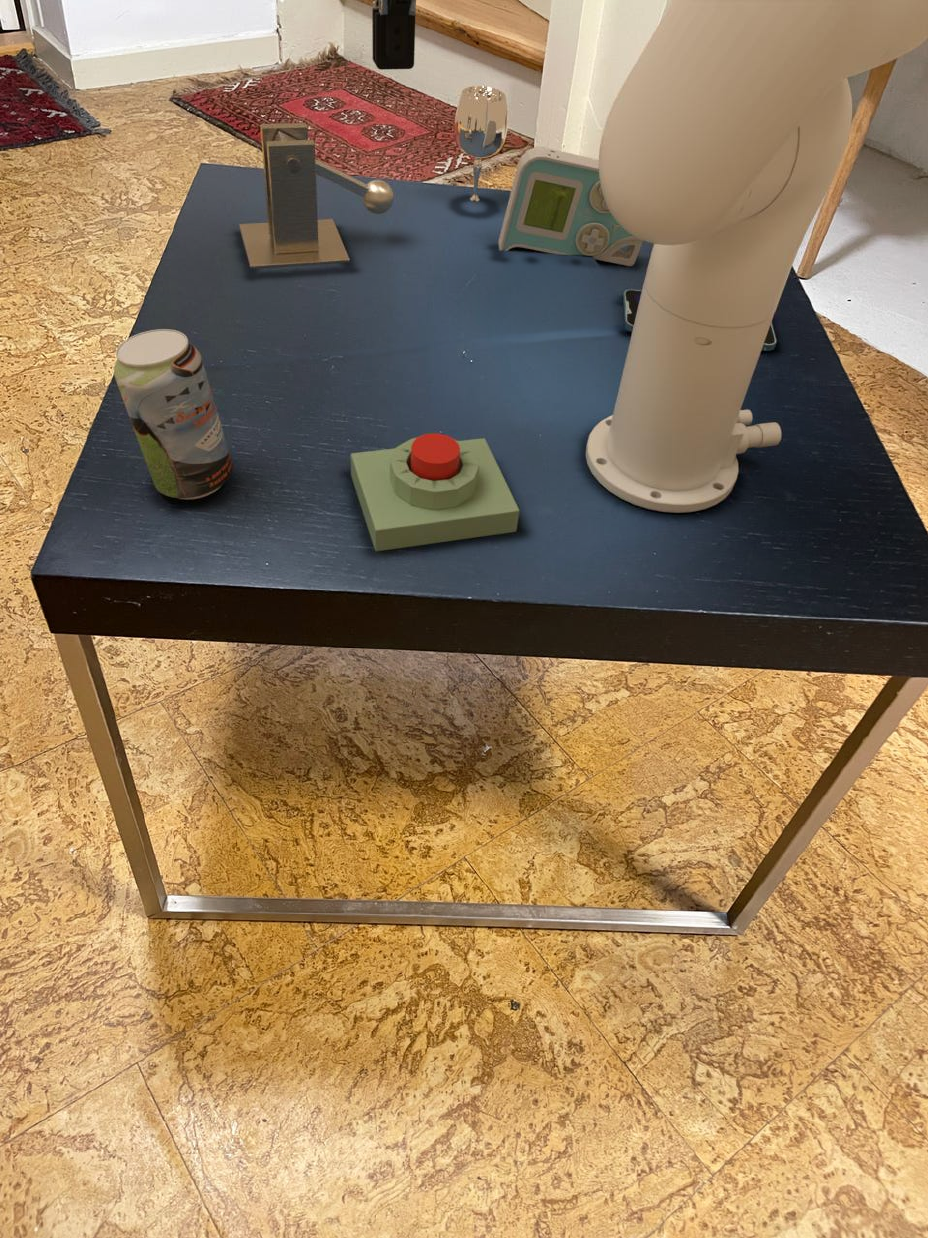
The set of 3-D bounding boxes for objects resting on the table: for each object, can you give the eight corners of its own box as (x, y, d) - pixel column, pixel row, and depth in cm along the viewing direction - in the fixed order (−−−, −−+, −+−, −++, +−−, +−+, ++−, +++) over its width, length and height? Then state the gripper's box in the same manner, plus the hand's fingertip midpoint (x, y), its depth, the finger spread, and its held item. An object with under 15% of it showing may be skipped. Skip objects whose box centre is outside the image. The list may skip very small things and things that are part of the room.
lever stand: (333, 229, 103) (330, 113, 94) (350, 270, 97) (348, 151, 88) (239, 234, 100) (227, 116, 92) (251, 277, 95) (239, 155, 86)
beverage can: (217, 517, 71) (196, 379, 62) (124, 498, 72) (90, 359, 63) (247, 466, 75) (231, 330, 66) (158, 449, 76) (131, 312, 67)
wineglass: (506, 215, 108) (519, 102, 99) (459, 220, 107) (468, 106, 98) (487, 193, 112) (497, 82, 103) (441, 197, 110) (448, 85, 101)
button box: (482, 459, 78) (487, 418, 75) (516, 532, 72) (523, 491, 70) (350, 475, 75) (350, 434, 73) (375, 552, 70) (375, 511, 67)
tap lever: (380, 210, 100) (394, 182, 98) (387, 224, 98) (402, 196, 96) (265, 155, 93) (279, 123, 91) (270, 169, 90) (284, 137, 89)
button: (451, 449, 73) (452, 430, 72) (464, 478, 71) (465, 460, 69) (405, 454, 72) (406, 435, 71) (417, 484, 70) (418, 466, 68)
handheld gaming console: (630, 285, 104) (497, 258, 101) (627, 272, 106) (496, 246, 103) (668, 184, 96) (524, 152, 93) (663, 172, 98) (523, 141, 95)
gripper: (477, -207, 62) (459, 97, 75) (423, -239, 72) (416, 36, 85) (364, -213, 60) (366, 99, 74) (324, -244, 70) (333, 37, 83)
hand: (393, 65), depth 79 cm, fingers closed
